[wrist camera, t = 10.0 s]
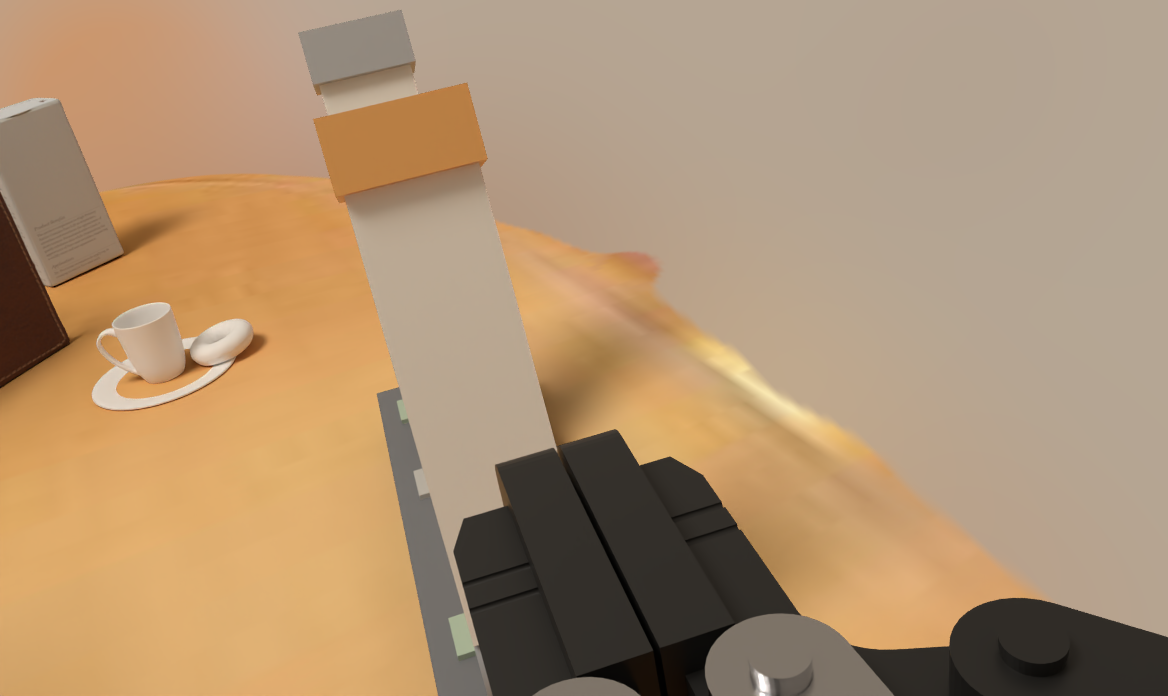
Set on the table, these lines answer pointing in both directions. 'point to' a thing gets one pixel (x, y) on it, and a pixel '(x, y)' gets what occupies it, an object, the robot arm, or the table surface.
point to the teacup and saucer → (165, 353)
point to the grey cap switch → (361, 62)
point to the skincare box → (52, 192)
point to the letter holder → (23, 307)
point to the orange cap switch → (440, 296)
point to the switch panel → (430, 560)
